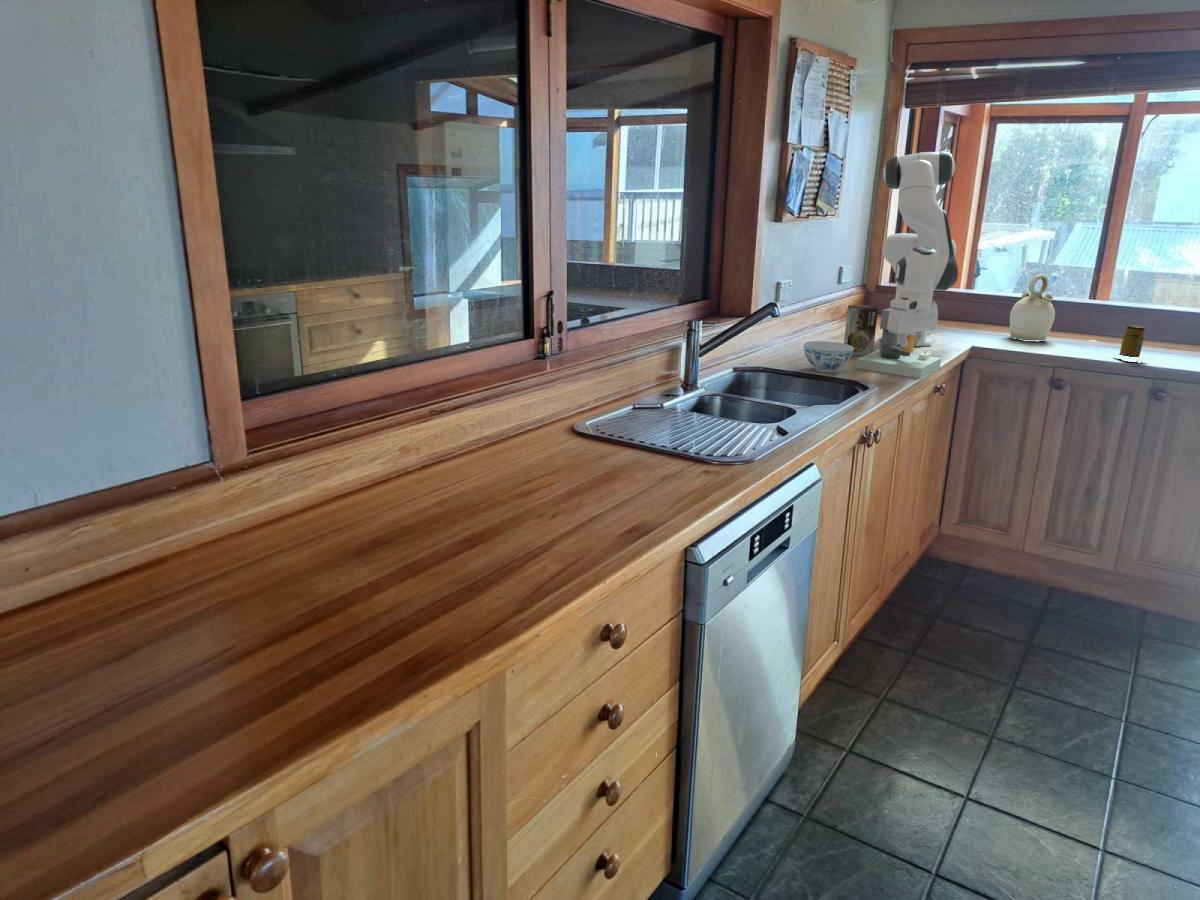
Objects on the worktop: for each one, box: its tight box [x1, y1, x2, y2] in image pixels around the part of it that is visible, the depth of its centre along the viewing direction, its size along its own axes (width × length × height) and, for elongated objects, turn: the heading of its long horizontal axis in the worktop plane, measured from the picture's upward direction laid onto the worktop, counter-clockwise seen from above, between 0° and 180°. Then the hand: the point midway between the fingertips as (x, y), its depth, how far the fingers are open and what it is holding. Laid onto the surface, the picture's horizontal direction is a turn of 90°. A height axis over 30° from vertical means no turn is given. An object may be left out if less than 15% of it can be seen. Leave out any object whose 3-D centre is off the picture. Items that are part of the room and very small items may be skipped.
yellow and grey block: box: [881, 335, 915, 358], centre depth 269 cm, size 12×6×8 cm, turn 25°
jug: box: [1009, 274, 1056, 341], centre depth 328 cm, size 15×16×25 cm
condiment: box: [1118, 324, 1146, 358], centre depth 295 cm, size 7×8×12 cm
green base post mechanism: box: [855, 307, 942, 379], centre depth 269 cm, size 22×20×17 cm
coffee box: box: [843, 304, 879, 356], centre depth 289 cm, size 9×6×16 cm
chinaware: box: [803, 340, 854, 373], centre depth 263 cm, size 15×15×8 cm
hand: (909, 346), depth 265 cm, fingers open, 4 cm apart
